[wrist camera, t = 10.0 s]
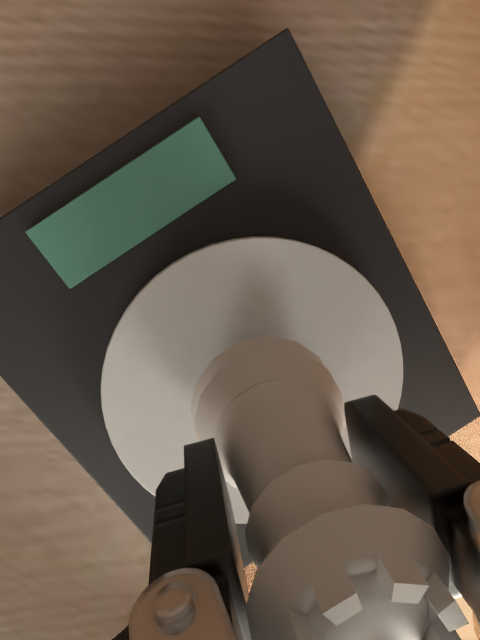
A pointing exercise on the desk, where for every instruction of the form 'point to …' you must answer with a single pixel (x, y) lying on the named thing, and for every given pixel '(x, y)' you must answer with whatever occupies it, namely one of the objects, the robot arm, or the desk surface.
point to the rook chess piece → (316, 507)
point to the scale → (209, 277)
